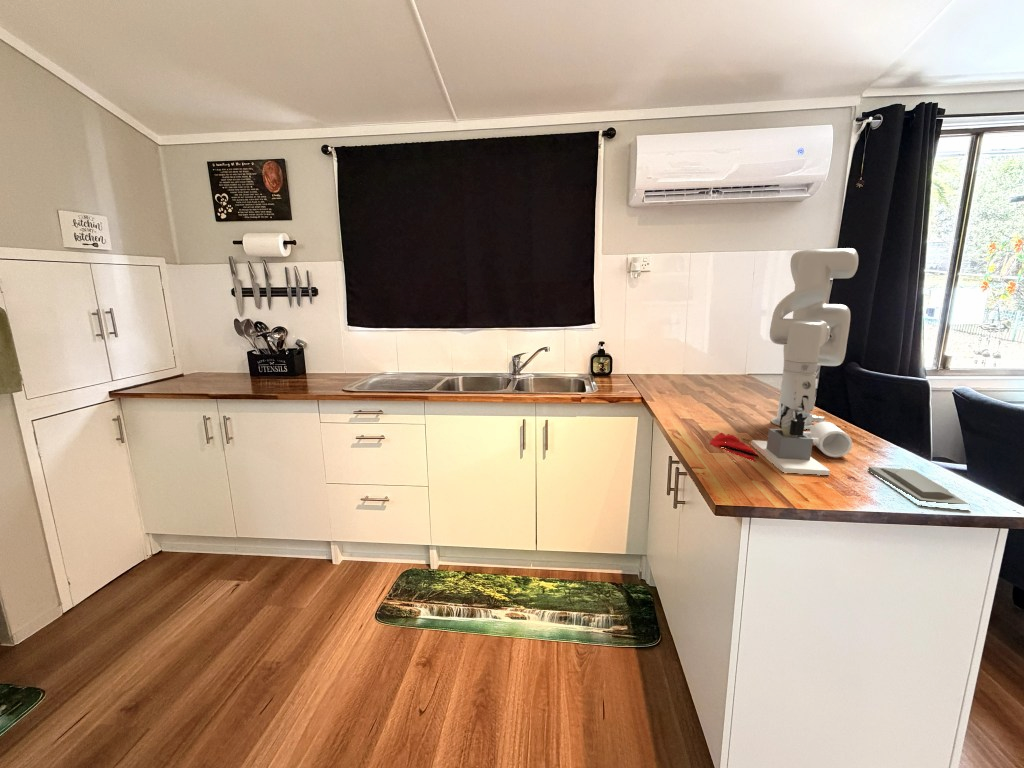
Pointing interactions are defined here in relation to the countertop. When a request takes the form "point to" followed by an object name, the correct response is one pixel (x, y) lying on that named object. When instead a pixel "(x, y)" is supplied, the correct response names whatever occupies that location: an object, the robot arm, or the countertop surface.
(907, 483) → the soap mold
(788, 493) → the countertop surface
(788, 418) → the ice cream cone
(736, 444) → the red lips
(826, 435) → the mug
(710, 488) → the countertop surface
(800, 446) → the box socket base
